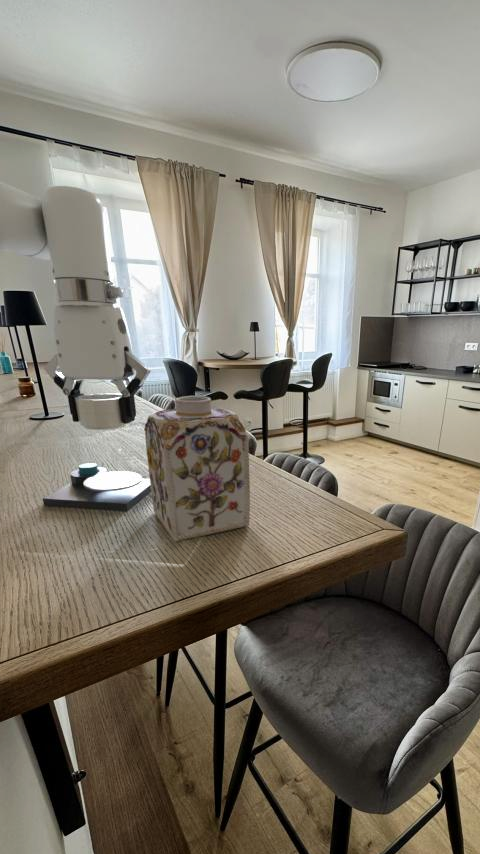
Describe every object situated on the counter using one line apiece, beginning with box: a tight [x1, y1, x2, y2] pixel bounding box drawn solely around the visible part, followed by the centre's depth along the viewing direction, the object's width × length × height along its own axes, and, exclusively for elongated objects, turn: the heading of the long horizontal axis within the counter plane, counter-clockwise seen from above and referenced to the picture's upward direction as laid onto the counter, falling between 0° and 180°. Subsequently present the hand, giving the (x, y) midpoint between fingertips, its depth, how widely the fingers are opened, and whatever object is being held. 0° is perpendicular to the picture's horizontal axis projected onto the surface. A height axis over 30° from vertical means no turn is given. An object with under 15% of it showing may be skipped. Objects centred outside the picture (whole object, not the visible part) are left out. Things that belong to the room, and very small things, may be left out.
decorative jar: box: [143, 395, 251, 543], centre depth 59 cm, size 12×12×18 cm
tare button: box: [78, 462, 98, 475], centre depth 73 cm, size 3×3×2 cm
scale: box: [42, 466, 151, 513], centre depth 70 cm, size 14×12×3 cm
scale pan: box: [83, 471, 143, 491], centre depth 68 cm, size 9×9×1 cm
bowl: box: [75, 393, 127, 431], centre depth 64 cm, size 7×7×4 cm
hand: (104, 420), depth 65 cm, fingers closed on bowl, 7 cm apart
